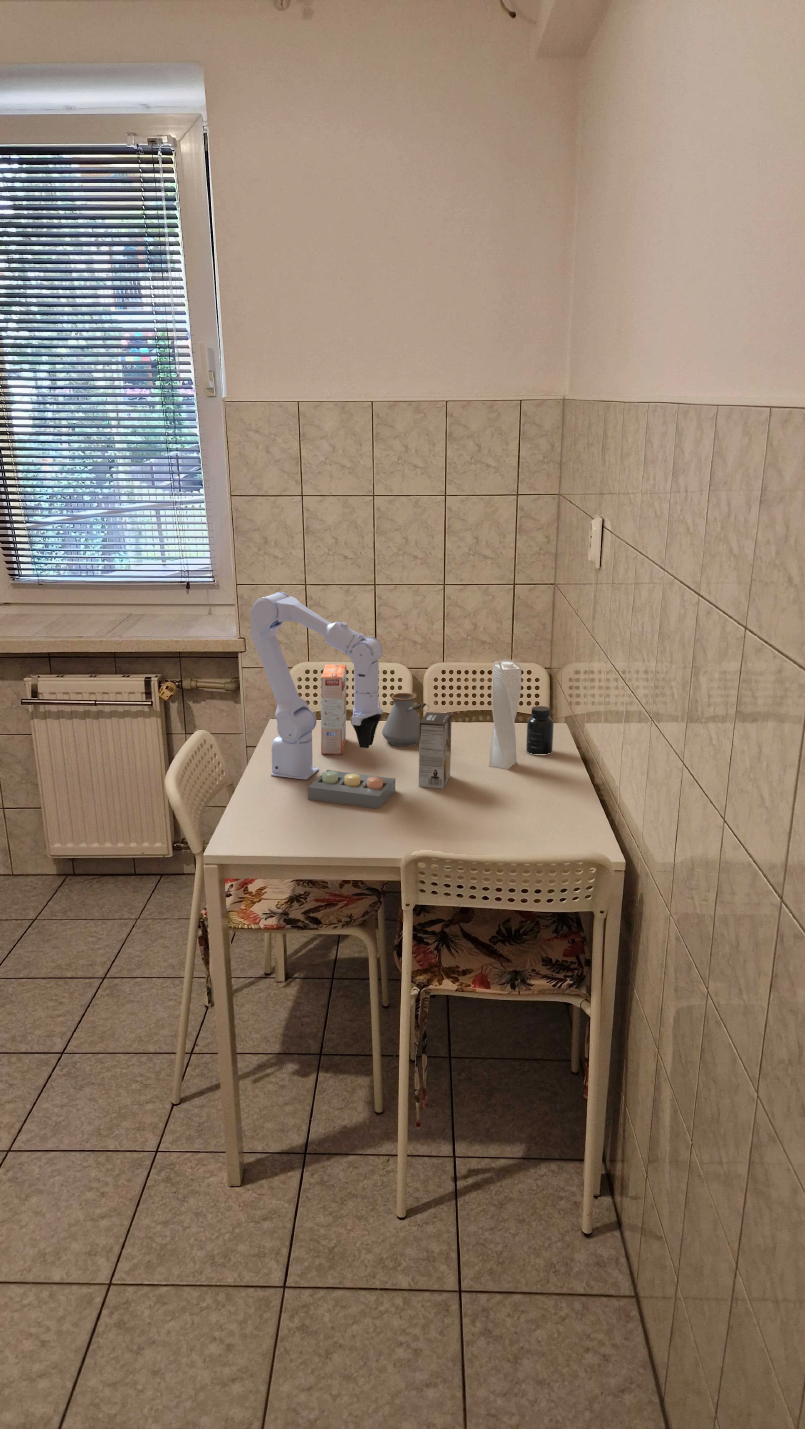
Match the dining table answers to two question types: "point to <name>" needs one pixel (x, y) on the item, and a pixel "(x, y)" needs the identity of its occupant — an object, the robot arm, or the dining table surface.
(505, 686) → the skyscraper
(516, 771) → the dining table surface
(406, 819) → the dining table surface
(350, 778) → the button ochre
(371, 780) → the button terracotta
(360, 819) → the dining table surface
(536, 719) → the supplement bottle
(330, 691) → the cracker box
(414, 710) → the coffee pot
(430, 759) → the coffee box
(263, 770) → the dining table surface
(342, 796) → the button panel
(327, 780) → the button sage
